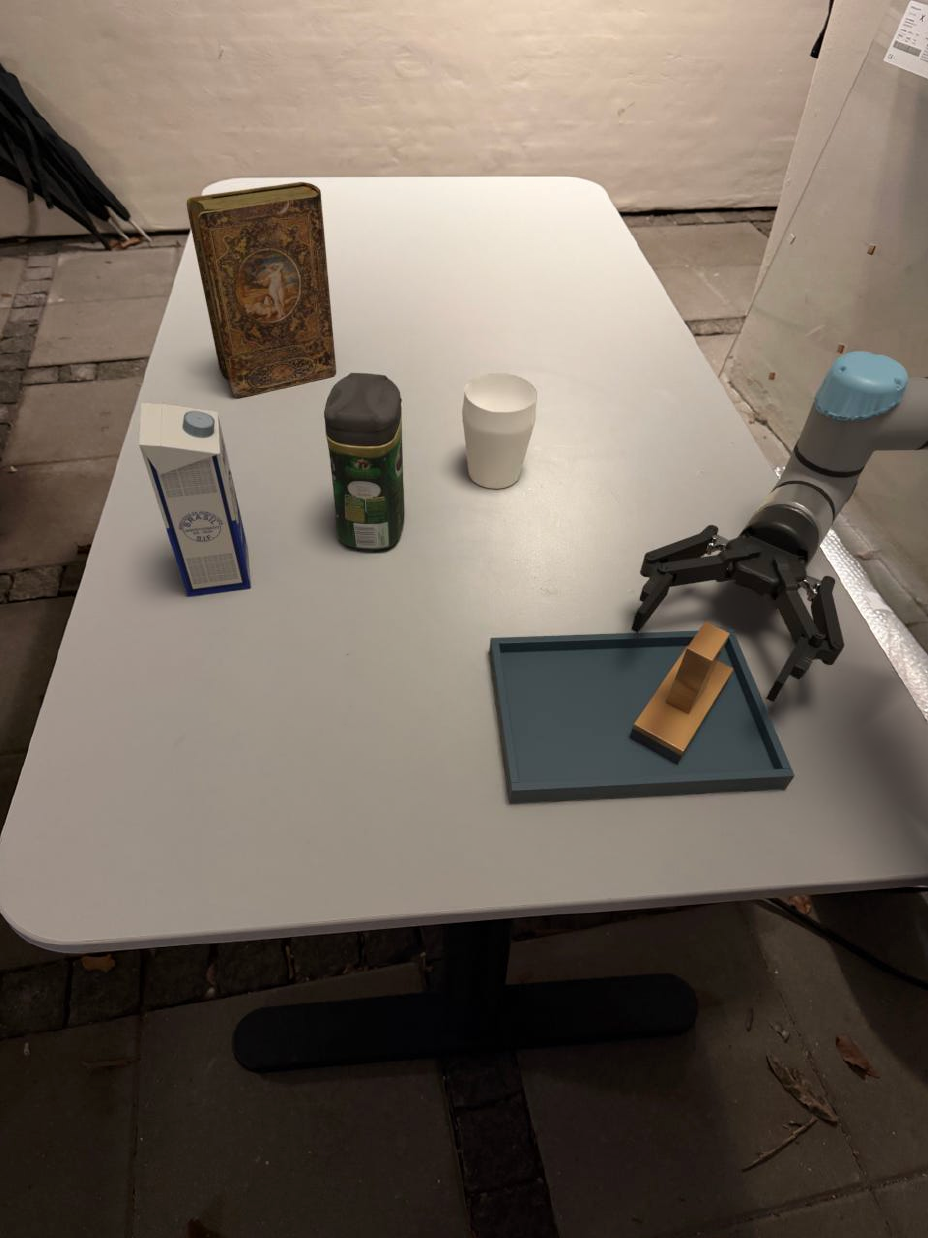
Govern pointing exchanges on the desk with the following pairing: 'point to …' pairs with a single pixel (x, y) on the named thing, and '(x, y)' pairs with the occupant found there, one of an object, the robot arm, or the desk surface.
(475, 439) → the cup
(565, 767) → the tray
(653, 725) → the wooden block on base
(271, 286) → the book
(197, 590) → the milk carton
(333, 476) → the coffee jar
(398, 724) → the desk surface
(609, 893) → the desk surface
